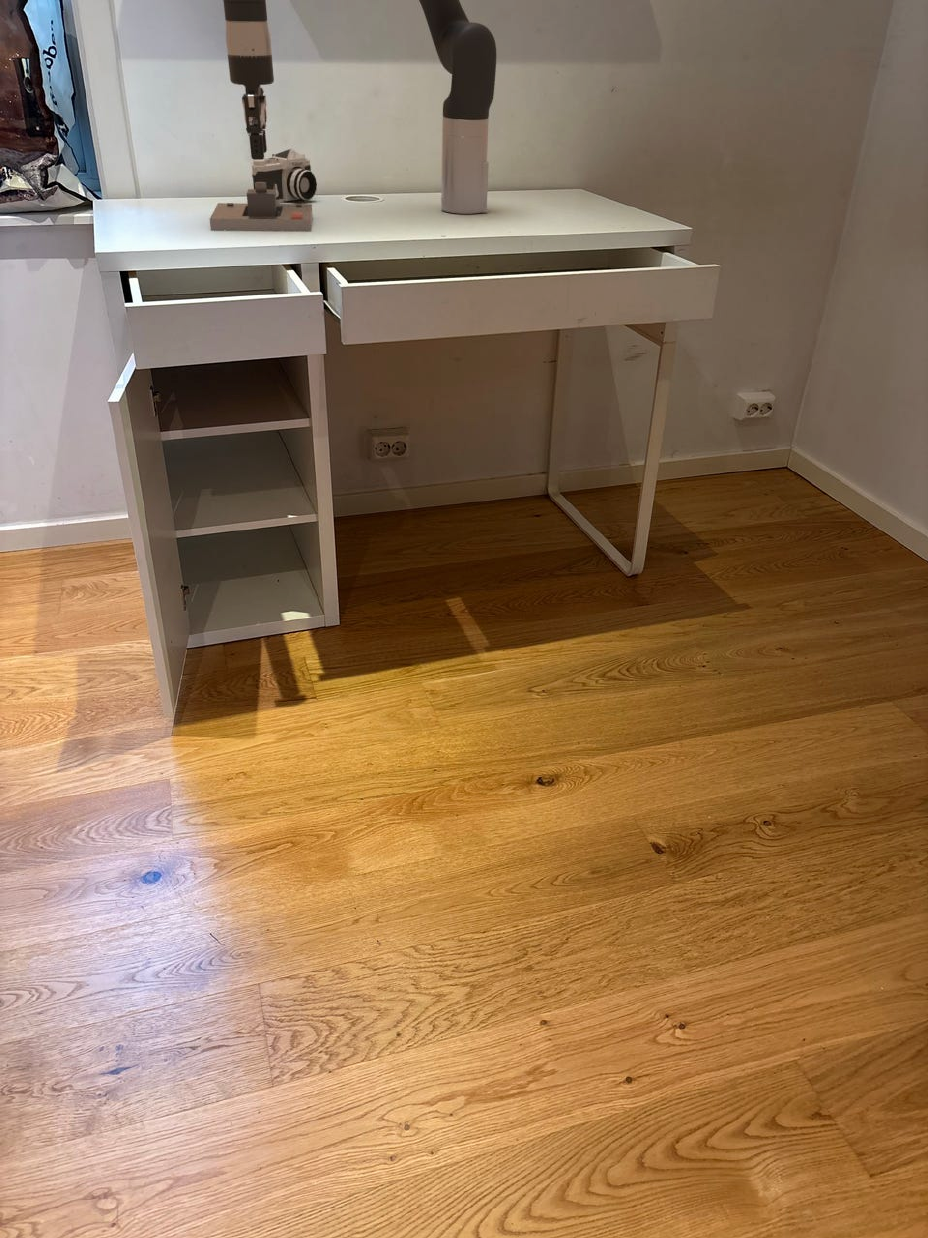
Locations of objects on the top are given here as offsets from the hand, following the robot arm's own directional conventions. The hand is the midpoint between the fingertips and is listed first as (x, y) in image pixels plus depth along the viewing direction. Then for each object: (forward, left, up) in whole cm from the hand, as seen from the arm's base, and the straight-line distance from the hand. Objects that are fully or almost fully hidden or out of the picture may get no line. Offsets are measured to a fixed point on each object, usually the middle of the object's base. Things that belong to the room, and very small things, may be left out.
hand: (259, 155), depth 171 cm
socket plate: (0, 0, -12) cm, 12 cm away
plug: (0, 0, -12) cm, 12 cm away
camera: (-4, -26, -12) cm, 29 cm away
